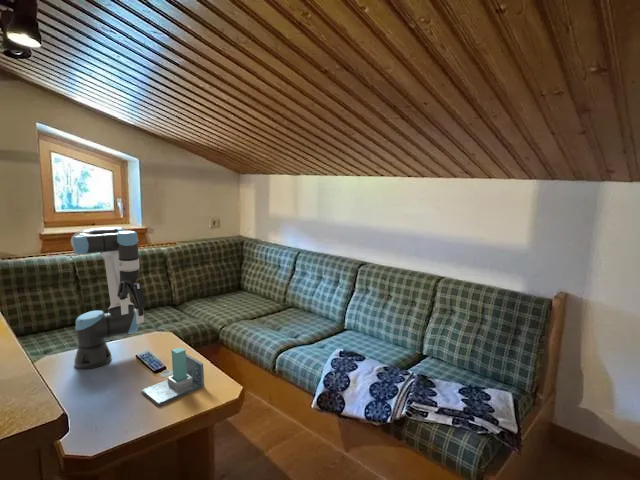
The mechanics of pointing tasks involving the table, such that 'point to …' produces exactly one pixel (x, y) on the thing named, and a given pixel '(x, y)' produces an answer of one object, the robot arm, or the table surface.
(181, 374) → the teal block
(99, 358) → the robot arm
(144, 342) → the table surface
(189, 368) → the cup bracket
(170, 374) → the mounting bracket
